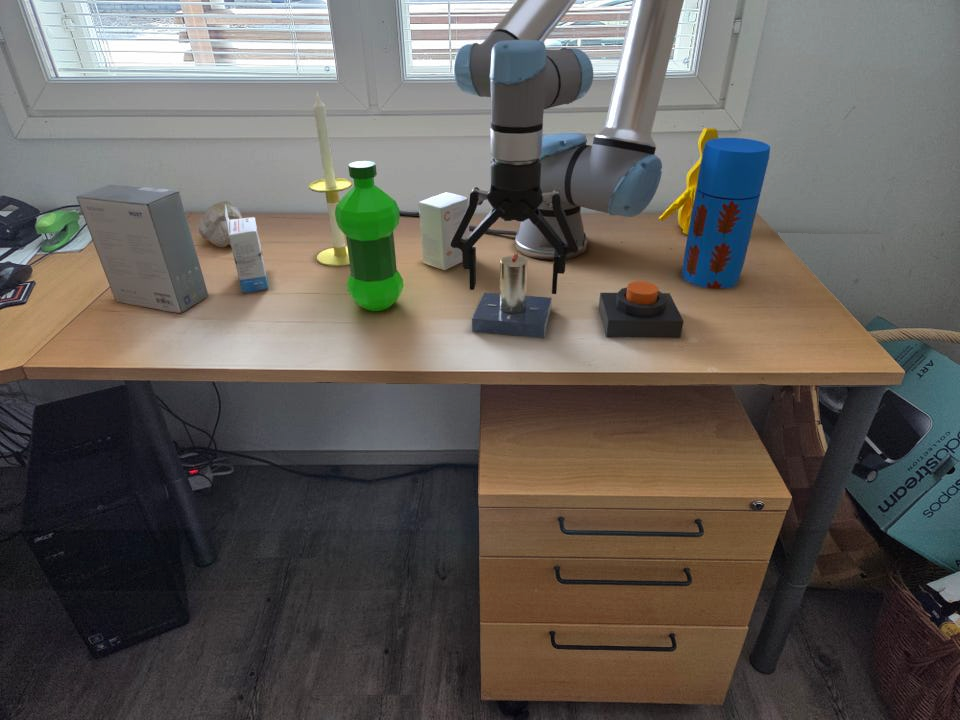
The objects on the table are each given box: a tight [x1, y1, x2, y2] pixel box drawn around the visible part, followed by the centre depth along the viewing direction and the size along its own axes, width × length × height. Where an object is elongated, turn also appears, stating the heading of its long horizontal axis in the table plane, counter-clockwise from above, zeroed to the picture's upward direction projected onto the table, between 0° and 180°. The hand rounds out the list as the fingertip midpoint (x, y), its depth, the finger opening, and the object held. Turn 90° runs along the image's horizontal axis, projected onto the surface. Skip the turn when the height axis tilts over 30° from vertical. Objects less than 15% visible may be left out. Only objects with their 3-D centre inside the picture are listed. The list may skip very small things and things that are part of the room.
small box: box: [418, 191, 470, 271], centre depth 123 cm, size 8×6×13 cm
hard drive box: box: [76, 184, 209, 314], centre depth 108 cm, size 16×8×20 cm, turn 71°
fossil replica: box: [198, 200, 243, 248], centre depth 135 cm, size 12×8×10 cm
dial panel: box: [471, 291, 552, 339], centre depth 105 cm, size 12×10×3 cm
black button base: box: [598, 286, 685, 339], centre depth 103 cm, size 12×10×5 cm
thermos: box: [681, 137, 771, 290], centre depth 112 cm, size 11×11×25 cm
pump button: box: [626, 280, 660, 304], centre depth 101 cm, size 5×5×2 cm
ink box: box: [225, 205, 269, 294], centre depth 115 cm, size 8×5×15 cm, turn 20°
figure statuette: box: [658, 127, 719, 236], centre depth 134 cm, size 18×8×22 cm, turn 86°
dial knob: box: [499, 253, 528, 313], centre depth 101 cm, size 4×4×9 cm
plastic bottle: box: [335, 160, 404, 312], centre depth 104 cm, size 10×10×25 cm
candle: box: [308, 90, 353, 267], centre depth 121 cm, size 10×10×32 cm
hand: (513, 288), depth 102 cm, fingers open, 13 cm apart
